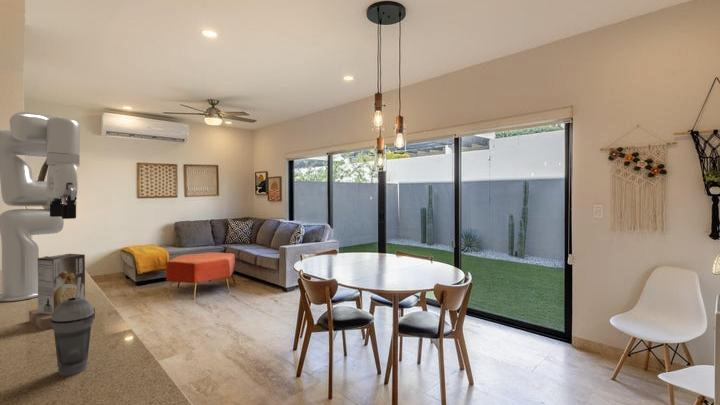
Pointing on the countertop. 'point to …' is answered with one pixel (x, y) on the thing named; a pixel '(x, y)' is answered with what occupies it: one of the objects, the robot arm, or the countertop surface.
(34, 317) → the walnut base
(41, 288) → the coffee box
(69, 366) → the beverage cup
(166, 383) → the countertop surface
